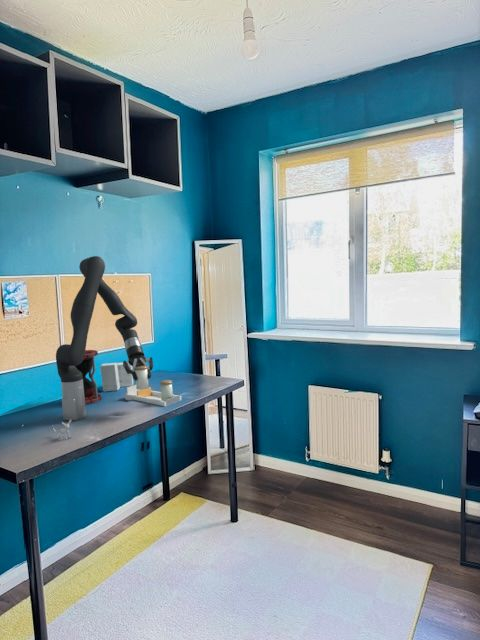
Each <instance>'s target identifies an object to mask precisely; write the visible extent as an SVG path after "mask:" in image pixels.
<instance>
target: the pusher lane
mask: <svg viewBox="0 0 480 640" xmlns="http://www.w3.org/2000/svg"><path fill="white" fill-rule="evenodd" d="M125 390H126V393H125V394H124V395H125V396H124V397H125V401H132V400H133V401H138V402H143V403H148V404H152V405H156V406H161V407H167V406H170V405H172V404H176V403H177V402H180V401H182V396H181V395H178V394H173V397H172V398H169V399H166V400H165V401H161V391H156V390H151V394H152V395H150V396H147V397H142V396H137V391H139V390H138V389H136V384H133V386H126V387H125Z"/></svg>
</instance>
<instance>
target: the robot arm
mask: <svg viewBox="0 0 480 640" xmlns="http://www.w3.org/2000/svg"><path fill="white" fill-rule="evenodd" d="M105 268H106V264H105V261H104V259H103V258H102V257H101V256H99V255H96V256H95V255H94V256H90V257H86V258H84V259H82V260H81V262H80V263H79V271H80V273H81V274H82V276H83V277H84V279H83V283H82V285H81V287H80V289H79V291H78V292H77V293H76V296H75V298H74V300H73V302H72V306H71V310H70V321H71V326H72V330H73V333H72V339H71V342H70V344H67V343H66V344H62V345H59V347H58V348H57V349H56V353H55V361H56V368H57V375H58V376H59V378H60V386H61V397H62V399H61V407H62V409H61V410H62V417H63V418H62V419H63V421H70V420H71V421H78V420H81V419H85V417H86V416H87V410H86V409H87V408H86V405H85V397H84V386H83V375H82V373H81V372H80V371H79V370H78V369H77V368H76V367H75V366H77V365H79V364H81V362H82V361H83V359H84V356H85V350H87V349H86V348H87V341H88V334H89V331H90V330H89V329H90V325H91V320H92V317H93V313H94V309H95V305H96V304H95V303H96V299H97V297H98V296H97V295H99V297H100V298H101V299H102V300H103V302H104V303H105V305H106V307H107V309H108V310H109V312H110V313H111V314H112V315H113V316H119V315H122V317H120V318H118V319H116V320H115V324H114V325H115V328H116V330H117V331H118V332H119V334H120V336H121V337H122V339H123V343H124V348H125V352H126V356H127V359H128V360H123V366H124V368H125V370H126V372H127V374H132V377H133V381H135V382H136V381H137V375H136V372H135V368H134V367H136V366H141V365H146V366H148V369H147V371H148V380H150V379H151V377H152V373H151V371H153V369H154V361H153V357H148V358H147V357H146V356H145V352H144V349H143V347H142V343H141V341H140V338H139V336H138V332H137V330H135V329H133V328H135V327H137V326H138V319H137V318H136V316H135V315H134V314H133V313H132V312H131V311H130V310H128V308H127V307H126V306H125V305H124V303H123V301H122V300H121V298H120V296H119V295H118V294H117V293H116V292H115V290H113V289H112V288H111V287H110V286H109V285H108V284H107V283H106V282H105V281H104V279H103V276H104V273H105V271H106V269H105ZM147 363H148V364H147ZM128 364H130V365H131V366H132V370H130V368H129V366H128Z"/></svg>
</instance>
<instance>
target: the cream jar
mask: <svg viewBox="0 0 480 640" xmlns="http://www.w3.org/2000/svg"><path fill="white" fill-rule="evenodd" d="M148 367H149V365H148V366H146V365H141V366H136V367H134V368H135V372H136V375H137V381H135V385H136V389H138V390H143V389H147V388H149V387H150V386H149V379H148V371H147V369H148Z"/></svg>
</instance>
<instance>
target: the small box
mask: <svg viewBox="0 0 480 640" xmlns="http://www.w3.org/2000/svg"><path fill="white" fill-rule="evenodd" d="M116 363H117V368H118V375H119V383H120V388H123V387H124V388H127V387H130V386H134V379H133V377H132V374H127V372H126V370H125V368H124V366H123V362H116ZM128 366H129V368H130V370H132V368H133V366H131V365H130V364H128Z"/></svg>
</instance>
